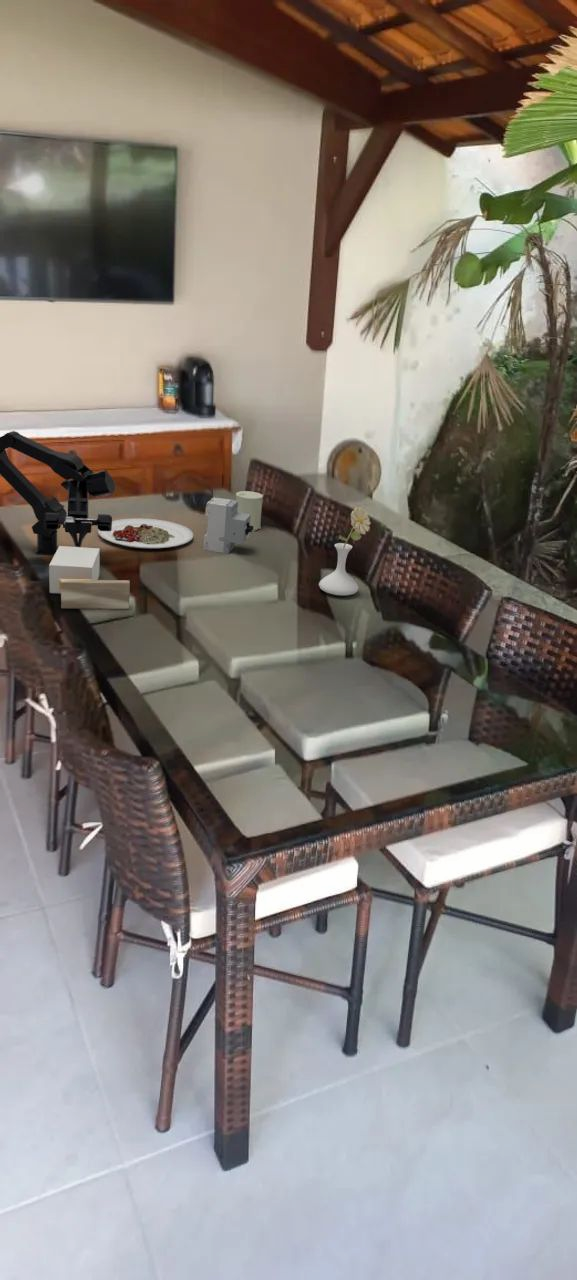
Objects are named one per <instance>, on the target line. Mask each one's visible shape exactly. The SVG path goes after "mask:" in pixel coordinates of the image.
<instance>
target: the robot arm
mask: <svg viewBox="0 0 577 1280" xmlns="http://www.w3.org/2000/svg"><path fill="white" fill-rule="evenodd" d="M9 448H11V449H13V450H15V451H17V452H19V453H21V454H24V455H25V456H27V457H29V458H31V459H34V460H36V461H38V462H41V463H42V464H45V465H47V466H48V467H49V468H50V469H51V470H52V471H53V472H54V473H55V474H56V475H58V476H59V477H61V478H62V479H64V481H62V482H61V483H60V486H61V487H62V488H64V490H65V491H67V511H66V508H65V505H63V504H62V503H61V502H59V500H58V499H57V498H56V496H53V497H51V498H49V497H47V496H45V495H43V494H42V492H40V490H39V489H38V488H37V487H36V486H35V485H34V484H33V483H32V482H31V481H30V480H29V479H28V478H27V477H26V475H24V474H23V473H22V471H20V470H19V469H18V468H17V467H16V465H15V464H13V462H12V461H11V460H10V458H9V456H8V454H7V450H6V449H9ZM0 476H1V477H2V478H3V479H4V480H5V481H6V483H7V484H9V485H10V486H11V487H12V488H13V489H14V490H15V491H16V492H17V493H18V495H19V496H21V498H23V500H24V501H25V502H26V503H27V504H28V505H29V506H30V507H31V508H32V511H33V515H35V518H36V520H37V521H36V522H35V523H34V524H33V525H32V526H31V530H32V533H33V534H35V535H36V540H37V541H36V543H37V544H36V546H35V554H36V555H38V554H39V555H55V553H56V551H57V549H58V547H59V546H60V545H58V530H59V529H61V528H63V529H64V532H65V533H69V535H70V537H71V538H72V541H73V544H74V547H82V544H83V541H84V539H85V537H86V535H87V534H90V533H92V526H96V527H97V530H98V529H99V530H100V531H111V529H112V521H113V516H112V515H111V514H104V513H102V514H101V513H100V514H99V513H98V514H97V518H92V517H91V518H89V496H92V497H93V498H98V497H101V496H108V495H112V494H114V493H115V491H116V486H115V485H116V484H115V481H114V479H113V477H112V475H111V474H110V473H108V470H107V469H104V470H101V471H98V472H94V471H93V469H91V468H89V467H88V466H87V465H86V464H85V463H84V462H83V459H82V458H81V457H80V456H78V455H75V454H71V453H67V452H62V451H58V450H57V451H56V450H54V449H51V448H50V447H47V446H45V445H43V444H41V443H39V442H37V441H36V440H33V439H30V438H28V437H27V436H25V435H22V434H20V433H19V432H18V431H15V430H12V431H9V432H6V433H4V435H2V436H0Z"/></svg>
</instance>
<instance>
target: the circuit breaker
mask: <svg viewBox="0 0 577 1280" xmlns="http://www.w3.org/2000/svg"><path fill="white" fill-rule="evenodd" d="M237 508H238V501H236V499H228V498H221V497H212V498H211V499H210V500H209V501H207V502H206V506H205V513H204V515H205V517H207V526H206V529H207V530H206V533H205V534H204V535H203V549H202V550H204V551H205V550H206V551H208V552H209V551H210V552H216V553H221V554H222V553H223V554H229V553H230V552H231V551H232V550H233V549H234V548H235V547H236V546H235V545H236V544H238V545H239V544H240V545H243V544H244V543H245V542H246V541H247V540H248V539H250V533H252V532H251V531H252V530H253V527H254V526H250V519H251V515H250V514H244V513H237ZM234 546H235V547H234Z"/></svg>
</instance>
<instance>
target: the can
mask: <svg viewBox="0 0 577 1280" xmlns="http://www.w3.org/2000/svg"><path fill="white" fill-rule="evenodd" d="M263 499H264V496H263V494H262V493H259V492H257V491H256V492H255V491H247V490H243V491H237V492H236V493H235V501H238V508H237V513H244V514H250V515H251V519H250V526H254V527H253V529H257V528H260V529H261V519H262V508H263V507H262V506H263Z"/></svg>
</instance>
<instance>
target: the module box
mask: <svg viewBox="0 0 577 1280" xmlns="http://www.w3.org/2000/svg"><path fill="white" fill-rule="evenodd" d="M58 546H59V547H58V549H57V551H56V553H55V554H53V557H52V559H51V561H50V563H49V564H48V566H49V567H48V571H49V574H48V575H49V580H48V581H49V593H50V594H60V595H61V590H59V579H91V580H99V578H100V577H99V576H100V559H101V557H100V553H101V552H100V548H98V547H97V548H95V547H83V546H81V547H75V546H67V545H58Z"/></svg>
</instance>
